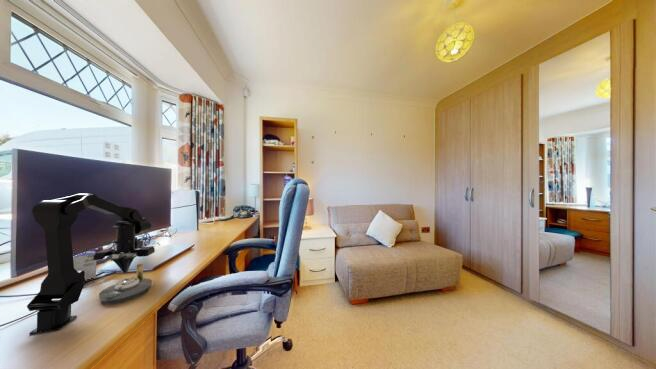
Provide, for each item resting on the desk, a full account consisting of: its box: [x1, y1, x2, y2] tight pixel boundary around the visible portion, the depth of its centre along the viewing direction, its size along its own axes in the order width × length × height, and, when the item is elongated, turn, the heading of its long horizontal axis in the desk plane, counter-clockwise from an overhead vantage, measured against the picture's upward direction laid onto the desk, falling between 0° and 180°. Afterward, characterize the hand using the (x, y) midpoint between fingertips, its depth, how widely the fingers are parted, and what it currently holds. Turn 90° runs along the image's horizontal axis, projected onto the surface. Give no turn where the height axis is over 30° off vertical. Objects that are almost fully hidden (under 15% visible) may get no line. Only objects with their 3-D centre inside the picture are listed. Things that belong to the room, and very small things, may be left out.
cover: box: [114, 277, 139, 292], centre depth 80 cm, size 7×7×3 cm
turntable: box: [98, 263, 153, 302], centre depth 81 cm, size 17×15×8 cm
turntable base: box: [102, 288, 150, 305], centre depth 80 cm, size 13×13×1 cm
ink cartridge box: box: [73, 250, 97, 281], centre depth 90 cm, size 10×6×14 cm, turn 145°
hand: (125, 272), depth 86 cm, fingers closed
